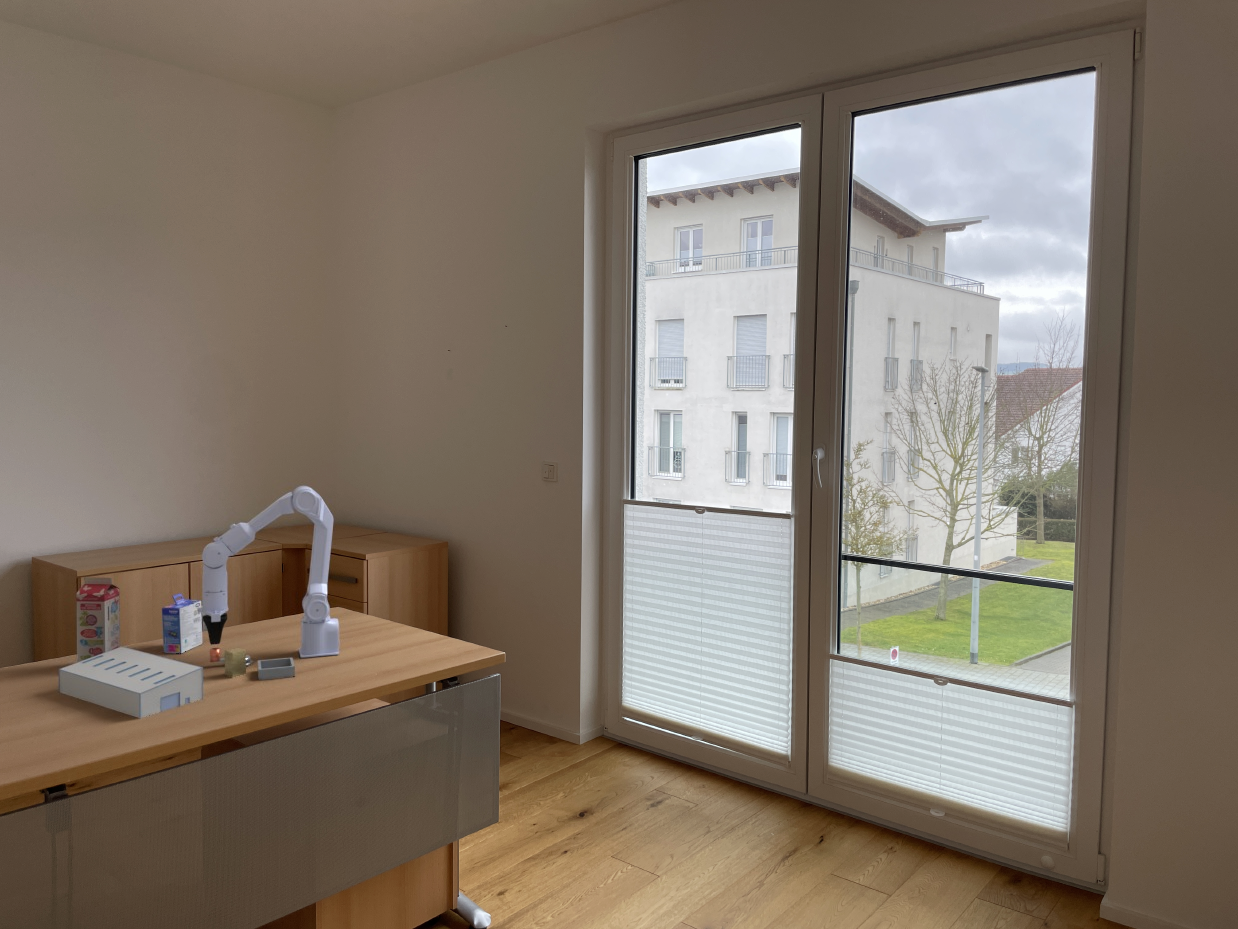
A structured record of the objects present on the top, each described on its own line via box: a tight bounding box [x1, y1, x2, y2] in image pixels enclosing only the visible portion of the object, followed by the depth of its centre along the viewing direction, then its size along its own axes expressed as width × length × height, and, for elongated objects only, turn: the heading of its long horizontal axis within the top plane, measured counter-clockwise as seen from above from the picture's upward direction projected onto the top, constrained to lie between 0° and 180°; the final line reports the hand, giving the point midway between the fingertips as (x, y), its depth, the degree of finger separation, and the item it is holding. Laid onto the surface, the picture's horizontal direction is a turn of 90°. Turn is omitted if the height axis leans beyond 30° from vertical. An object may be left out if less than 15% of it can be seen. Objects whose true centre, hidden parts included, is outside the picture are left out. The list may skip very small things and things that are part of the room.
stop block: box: [224, 647, 247, 678], centre depth 208 cm, size 3×3×6 cm
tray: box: [257, 657, 296, 681], centre depth 210 cm, size 8×8×2 cm
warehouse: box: [58, 645, 204, 719], centre depth 192 cm, size 30×14×8 cm, turn 61°
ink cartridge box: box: [161, 593, 203, 655], centre depth 229 cm, size 10×6×14 cm, turn 174°
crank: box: [209, 647, 251, 664], centre depth 216 cm, size 9×4×4 cm, turn 114°
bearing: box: [246, 659, 254, 667], centre depth 217 cm, size 5×5×1 cm
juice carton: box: [76, 576, 121, 663], centre depth 212 cm, size 7×7×22 cm
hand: (215, 643), depth 218 cm, fingers closed
